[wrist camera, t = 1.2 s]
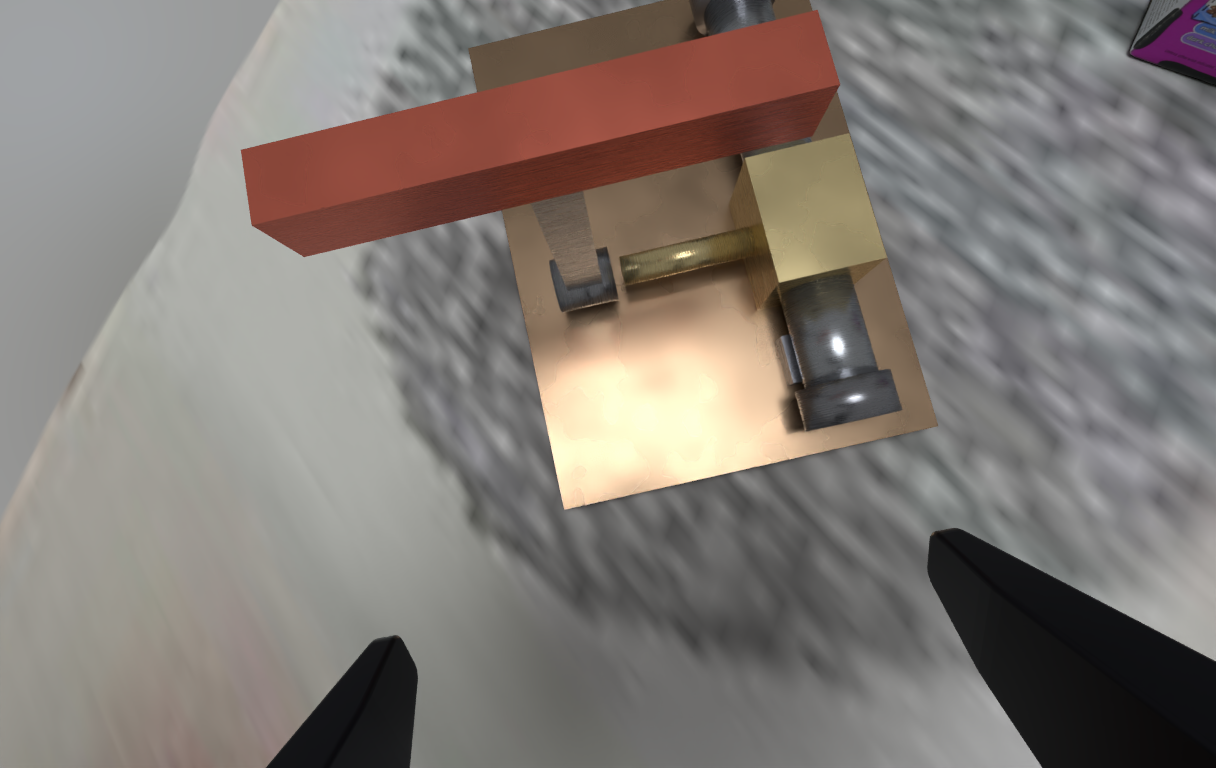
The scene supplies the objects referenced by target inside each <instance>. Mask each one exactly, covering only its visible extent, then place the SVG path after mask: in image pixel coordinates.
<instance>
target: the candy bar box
mask: <svg viewBox="0 0 1216 768" xmlns="http://www.w3.org/2000/svg"><path fill="white" fill-rule="evenodd" d="M1130 54H1131V55H1133V56H1134V57H1136V58H1139V59H1141V60H1144V61H1147V62H1150V63H1153V64H1156V65H1159V66H1162V67H1165V68H1167V69H1170V70H1173V71H1176V72H1179V73H1182V74H1185V75H1188V76H1191V77H1194V78H1197V79H1200V80H1203V81H1206V82H1209V83H1212V84H1215V85H1216V0H1151V1H1150V4H1149V7H1148V10H1147V13H1146V15H1145V17H1144V19H1143V21H1142V23H1141V26H1140V28H1139V30H1138V32H1137V35H1136V37H1135V40H1134V43H1133V45H1132V47H1131V50H1130Z"/></svg>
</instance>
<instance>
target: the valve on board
mask: <svg viewBox="0 0 1216 768" xmlns="http://www.w3.org/2000/svg"><path fill="white" fill-rule="evenodd" d="M811 11H812V8H811V4H810V1H809V0H664V1H660V2H656V3H652V4H648V5H644V6H639V7H635V8H631V9H627V10H623V11H619V12H615V13H611V14H607V15H603V16H599V17H595V18H590V19H586V20H582V21H578V22H574V23H570V24H566V25H562V26H558V27H554V28H550V29H546V30H542V31H537V32H533V33H529V34H525V35H521V36H517V37H513V38H509V39H505V40H501V41H497V42H493V43H488V44H484V45H480V46H476V47H472V48H468V49H469V54H470V59H471V64H472V69H473V73H474V78H475V83H476V88H477V92H481V91H485V90H490V89H494V88H498V87H502V86H506V85H510V84H514V83H518V82H523V81H527V80H531V79H535V78H539V77H543V76H547V75H551V74H555V73H560V72H564V71H568V70H572V69H576V68H580V67H584V66H588V65H592V64H597V63H601V62H605V61H609V60H613V59H617V58H621V57H625V56H630V55H634V54H638V53H642V52H646V51H650V50H654V49H658V48H662V47H667V46H671V45H675V44H679V43H683V42H687V41H691V40H695V39H699V38H704V37H708V36H712V35H716V34H720V33H724V32H728V31H732V30H737V29H741V28H745V27H749V26H753V25H757V24H761V23H765V22H769V21H774V20H778V19H782V18H786V17H790V16H794V15H798V14H802V13H806V12H811ZM583 194H584V199H585V204H586V208H587V213H588V218H589V222H590V227H591V232H592V236H593V241H594V246H595V249H599V248H603V247H607V249H608V253H609V257H610V261H611V265H612V270H613V274H614V279H615V283H616V288H617V293H618V299H619V300H615V301H611V302H607V303H603V304H598V305H594V306H590V307H585V308H581V309H577V310H572V311H568V312H564V313H562V312H561V310H560V307H559V304H558V300H557V297H556V293H555V289H554V285H553V281H552V276H551V271H550V265H549V260H552V259H554V257H553V255H552V253H551V250H550V248H549V246H548V243H547V241H546V239H545V236H544V234H543V232H542V229H541V227H540V225H539V222H538V220H537V218H536V215H535V213H534V211H533V208H532V206H531V204H525V205H521V206H517V207H513V208H508V209H504V210H502V213H503V218H504V222H505V227H506V232H507V237H508V242H509V247H510V251H511V256H512V261H513V266H514V271H515V275H516V280H517V285H518V290H519V295H520V299H521V304H522V309H523V314H524V319H525V323H526V328H527V333H528V338H529V343H530V348H531V352H532V357H533V362H534V367H535V372H536V376H537V381H538V386H539V391H540V396H541V400H542V405H543V410H544V415H545V420H546V424H547V429H548V434H549V439H550V444H551V449H552V453H553V458H554V463H555V468H556V473H557V477H558V482H559V487H560V492H561V497H562V501H563V506H564V510H565V509H570V508H574V507H579V506H583V505H587V504H592V503H596V502H601V501H605V500H610V499H614V498H619V497H623V496H628V495H632V494H637V493H641V492H646V491H650V490H655V489H659V488H663V487H668V486H672V485H677V484H681V483H686V482H690V481H695V480H699V479H704V478H708V477H713V476H717V475H722V474H726V473H731V472H735V471H740V470H744V469H748V468H753V467H757V466H762V465H766V464H771V463H775V462H780V461H784V460H789V459H793V458H798V457H802V456H807V455H811V454H816V453H820V452H824V451H829V450H833V449H838V448H842V447H847V446H851V445H856V444H860V443H865V442H869V441H874V440H878V439H883V438H887V437H892V436H896V435H900V434H905V433H909V432H914V431H918V430H923V429H927V428H932V427H936V426H938V423H937V420H936V417H935V413H934V410H933V407H932V403H931V400H930V397H929V394H928V390H927V387H926V384H925V380H924V377H923V374H922V370H921V367H920V364H919V361H918V357H917V354H916V351H915V347H914V344H913V341H912V337H911V334H910V331H909V328H908V324H907V321H906V318H905V314H904V311H903V308H902V304H901V301H900V298H899V295H898V291H897V288H896V285H895V281H894V278H893V275H892V272H891V268H890V265H889V262H888V258H887V255H886V252H885V248H884V245H883V242H882V239H881V235H880V232H879V229H878V225H877V222H876V219H875V215H874V212H873V209H872V206H871V202H870V199H869V196H868V192H867V189H866V186H865V182H864V179H863V176H862V173H861V169H860V166H859V163H858V159H857V156H856V153H855V149H854V146H853V143H852V140H851V136H850V133H849V130H848V126H847V123H846V120H845V116H844V113H843V110H842V107H841V103H840V100H839V97H838V93H837V91H836V93H835V95H834V97H833V99H832V101H831V102H830V104H829V106H828V108H827V110H826V112H825V114H824V116H823V117H822V119H821V121H820V123H819V125H818V127H817V129H816V131H815V133H814V134H813V136H812V137H807V138H803V139H799V140H795V141H791V142H786V143H782V144H778V145H774V146H770V147H765V148H761V149H757V150H753V151H748V152H744V153H740V154H736V155H732V156H727V157H723V158H719V159H715V160H711V161H706V162H702V163H698V164H694V165H690V166H685V167H681V168H677V169H673V170H668V171H664V172H660V173H656V174H652V175H647V176H643V177H639V178H635V179H631V180H626V181H622V182H618V183H614V184H610V185H605V186H601V187H597V188H593V189H588V190H584V191H583Z"/></svg>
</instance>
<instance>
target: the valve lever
mask: <svg viewBox="0 0 1216 768" xmlns="http://www.w3.org/2000/svg"><path fill="white" fill-rule="evenodd" d="M839 86H840V82H839V79H838V76H837V72H836V69H835V66H834V63H833V59H832V56H831V53H830V50H829V46H828V43H827V40H826V36H825V33H824V30H823V27H822V23H821V20H820V17H819V13H818V10H815V11H811V12H806V13H802V14H798V15H794V16H790V17H786V18H782V19H778V20H774V21H769V22H765V23H761V24H757V25H753V26H749V27H745V28H741V29H737V30H732V31H728V32H724V33H720V34H716V35H712V36H708V37H704V38H699V39H695V40H691V41H687V42H683V43H679V44H675V45H671V46H667V47H662V48H658V49H654V50H650V51H646V52H642V53H638V54H634V55H630V56H625V57H621V58H617V59H613V60H609V61H605V62H601V63H597V64H592V65H588V66H584V67H580V68H576V69H572V70H568V71H564V72H560V73H555V74H551V75H547V76H543V77H539V78H535V79H531V80H527V81H523V82H518V83H514V84H510V85H506V86H502V87H498V88H494V89H490V90H485V91H481V92H477V93H473V94H469V95H465V96H461V97H457V98H453V99H448V100H444V101H440V102H436V103H432V104H428V105H424V106H420V107H416V108H411V109H407V110H403V111H399V112H395V113H391V114H387V115H383V116H378V117H374V118H370V119H366V120H362V121H358V122H354V123H350V124H346V125H341V126H337V127H333V128H329V129H325V130H321V131H317V132H313V133H309V134H304V135H300V136H296V137H292V138H288V139H284V140H280V141H276V142H271V143H267V144H263V145H259V146H255V147H251V148H247V149H243V150H241V154H242V161H243V168H244V175H245V182H246V189H247V196H248V203H249V210H250V217H251V224H252V226H254V227H255V228H257V229H259V230H260V231H262V232H264V233H265V234H267V235H269V236H270V237H272V238H274V239H275V240H277V241H279V242H280V243H282V244H284V245H285V246H287V247H289V248H290V249H292V250H293V251H295V252H297V253H298V254H300V255H302V256H303V257H306V256H311V255H315V254H319V253H323V252H327V251H332V250H336V249H340V248H344V247H349V246H353V245H357V244H361V243H365V242H370V241H374V240H378V239H382V238H386V237H391V236H395V235H399V234H403V233H407V232H412V231H416V230H420V229H424V228H429V227H433V226H437V225H441V224H445V223H450V222H454V221H458V220H462V219H466V218H471V217H475V216H479V215H483V214H487V213H492V212H496V211H500V210H504V209H508V208H513V207H517V206H521V205H525V204H531V206H532V208H533V211H534V213H535V215H536V218H537V220H538V222H539V225H540V227H541V229H542V232H543V234H544V236H545V239H546V241H547V243H548V246H549V248H550V250H551V253H552V255H553V257H554V259H552V260H549V265H550V271H551V276H552V281H553V285H554V289H555V293H556V297H557V300H558V304H559V307H560V310H561V312H562V313H564V312H568V311H572V310H577V309H581V308H585V307H590V306H594V305H598V304H603V303H607V302H611V301H615V300H619V299H618V293H617V288H616V283H615V279H614V274H613V270H612V265H611V261H610V257H609V253H608V249H607V247H603V248H599V249H595V246H594V241H593V236H592V232H591V227H590V222H589V218H588V213H587V208H586V204H585V199H584V194H583V191H584V190H588V189H593V188H597V187H601V186H605V185H610V184H614V183H618V182H622V181H626V180H631V179H635V178H639V177H643V176H647V175H652V174H656V173H660V172H664V171H668V170H673V169H677V168H681V167H685V166H690V165H694V164H698V163H702V162H706V161H711V160H715V159H719V158H723V157H727V156H732V155H736V154H740V153H744V152H748V151H753V150H757V149H761V148H765V147H770V146H774V145H778V144H782V143H786V142H791V141H795V140H799V139H803V138H807V137H812V136H813V134H814V133H815V131H816V129H817V127H818V125H819V123H820V121H821V119H822V117H823V116H824V114H825V112H826V110H827V108H828V106H829V104H830V102H831V101H832V99H833V97H834V95H835V93H836V91H837V89H838V87H839Z"/></svg>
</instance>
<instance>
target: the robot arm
mask: <svg viewBox="0 0 1216 768" xmlns="http://www.w3.org/2000/svg"><path fill="white" fill-rule="evenodd" d="M927 570H928V575H929V578H930V581H931V583H932V585H933V587H934V589H935V591H936V593H937V595H938V596H939V598H940V600H941V602H942V604H943V606H944V608H945V610H946V612H947V613H948V615H949V617H950V619H951V621H952V623H953V625H954V627H955V629H956V630H957V632H958V634H959V636H960V638H961V640H962V642H963V644H964V646H965V647H966V649H967V651H968V653H969V655H970V657H971V659H972V660H973V662H974V664H975V666H976V668H977V669H978V671H979V673H980V674H981V676H982V677H983V679H984V681H985V682H986V684H987V685H988V687H989V688H990V690H991V691H992V693H993V694H994V696H995V697H996V699H997V700H998V702H999V703H1000V705H1001V706H1002V708H1003V709H1004V711H1005V712H1006V714H1007V715H1008V717H1009V718H1010V720H1011V721H1012V723H1013V724H1014V726H1015V727H1016V729H1017V730H1018V732H1019V733H1020V735H1021V736H1022V738H1023V739H1024V741H1025V742H1026V744H1027V745H1028V747H1029V748H1030V750H1031V751H1032V753H1033V754H1034V756H1035V757H1036V759H1037V760H1038V762H1039V763H1040V765H1041V766H1042V768H1216V661H1214V660H1212V659H1210V658H1208V657H1206V656H1204V655H1203V654H1201V653H1199V652H1197V651H1195V650H1193V649H1191V648H1189V647H1187V646H1185V645H1183V644H1181V643H1179V642H1177V641H1176V640H1174V639H1172V638H1170V637H1168V636H1166V635H1164V634H1162V633H1160V632H1158V631H1156V630H1154V629H1152V628H1151V627H1149V626H1147V625H1145V624H1143V623H1141V622H1139V621H1137V620H1135V619H1133V618H1131V617H1129V616H1127V615H1126V614H1124V613H1122V612H1120V611H1118V610H1116V609H1114V608H1112V607H1110V606H1108V605H1106V604H1104V603H1102V602H1100V601H1099V600H1097V599H1095V598H1093V597H1091V596H1089V595H1087V594H1085V593H1083V592H1081V591H1079V590H1077V589H1075V588H1074V587H1072V586H1070V585H1068V584H1066V583H1064V582H1062V581H1060V580H1058V579H1056V578H1054V577H1052V576H1050V575H1048V574H1047V573H1045V572H1043V571H1041V570H1039V569H1037V568H1035V567H1033V566H1031V565H1029V564H1027V563H1025V562H1023V561H1022V560H1020V559H1018V558H1016V557H1014V556H1012V555H1010V554H1008V553H1006V552H1004V551H1002V550H1000V549H998V548H997V547H995V546H993V545H991V544H989V543H987V542H985V541H983V540H981V539H979V538H977V537H975V536H973V535H971V534H970V533H968V532H966V531H964V530H961V529H958V528H951V529H946V530H941V531H935V532H933V533H932V534H931V536H930V541H929V553H928V565H927ZM417 683H418V674H417V668H416V665H415V663H414V661H413V659H412V657H411V655H410V653H409V651H408V650H407V648H406V646H405V644H404V642H403V640H402V639H401V638H400V637H399V636H397V635H394V636H388V637H383V638H378V639H375V640H374V641H372V642H371V643H370V644H369V645H368V647H367V648H366V649H365V650H364V651H363V653H362V654H361V655H360V656H359V657H358V659H357V660H356V661H355V662H354V663H353V664H352V666H351V667H350V668H349V669H348V670H347V672H346V673H345V674H344V675H343V676H342V678H341V679H340V680H339V681H338V682H337V684H336V685H335V686H334V687H333V688H332V689H331V691H330V692H329V693H328V694H327V695H326V697H325V698H324V699H323V700H322V701H321V703H320V704H319V705H318V706H317V707H316V709H315V710H314V711H313V712H312V713H311V715H310V716H309V717H308V718H307V719H306V720H305V722H304V723H303V724H302V725H301V726H300V728H299V729H298V730H297V731H296V732H295V734H294V735H293V736H292V737H291V738H290V740H289V741H288V742H287V743H286V744H285V745H284V747H283V748H282V749H281V750H280V751H279V753H278V754H277V755H276V756H275V757H274V759H273V760H272V761H271V762H270V763H269V765H268V766H267V767H266V768H410V760H411V749H412V738H413V727H414V716H415V705H416V694H417Z"/></svg>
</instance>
